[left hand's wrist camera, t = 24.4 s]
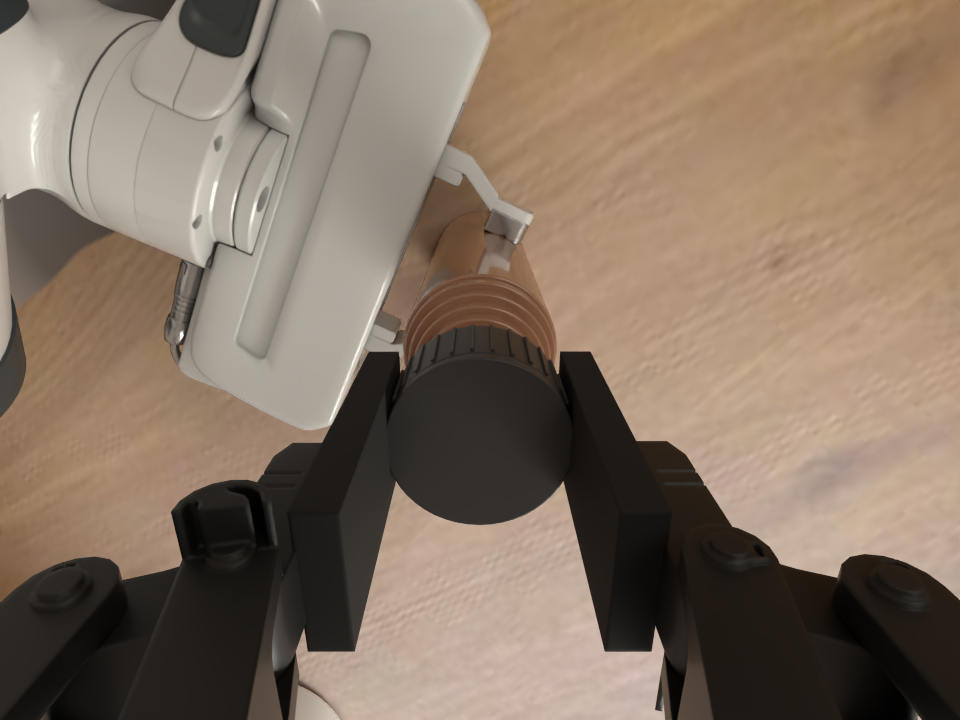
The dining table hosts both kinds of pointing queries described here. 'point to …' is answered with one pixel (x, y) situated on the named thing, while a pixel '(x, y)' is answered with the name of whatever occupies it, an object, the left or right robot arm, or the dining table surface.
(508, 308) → the bottle
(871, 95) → the dining table surface
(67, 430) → the dining table surface
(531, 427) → the cap
